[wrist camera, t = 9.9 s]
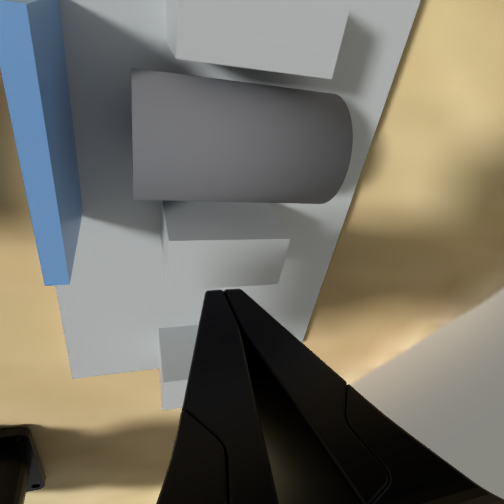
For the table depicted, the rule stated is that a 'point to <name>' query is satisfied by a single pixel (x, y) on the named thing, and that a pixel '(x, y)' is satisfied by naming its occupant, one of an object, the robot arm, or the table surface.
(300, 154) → the dark gray cylinder
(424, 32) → the table surface
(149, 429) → the table surface
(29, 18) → the white base plate
